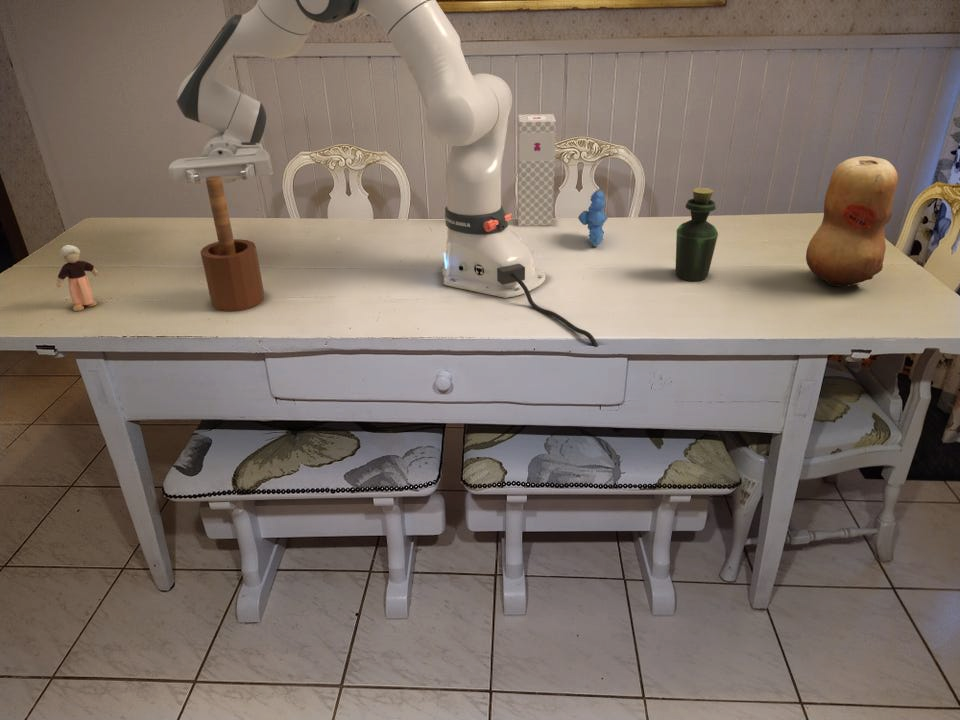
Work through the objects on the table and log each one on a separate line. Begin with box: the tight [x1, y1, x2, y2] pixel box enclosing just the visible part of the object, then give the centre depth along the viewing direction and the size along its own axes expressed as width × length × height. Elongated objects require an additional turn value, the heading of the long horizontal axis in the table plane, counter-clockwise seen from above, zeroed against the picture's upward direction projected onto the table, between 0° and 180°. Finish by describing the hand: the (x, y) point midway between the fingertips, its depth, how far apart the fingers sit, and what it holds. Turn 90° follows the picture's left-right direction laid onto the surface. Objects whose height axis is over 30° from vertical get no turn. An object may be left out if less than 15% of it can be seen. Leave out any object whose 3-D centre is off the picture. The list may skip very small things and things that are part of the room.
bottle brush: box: [205, 176, 236, 255], centre depth 139 cm, size 5×5×24 cm
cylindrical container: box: [200, 238, 265, 312], centre depth 142 cm, size 10×10×11 cm
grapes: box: [577, 189, 608, 247], centre depth 167 cm, size 12×7×12 cm, turn 173°
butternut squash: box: [805, 155, 899, 288], centre depth 141 cm, size 14×13×25 cm
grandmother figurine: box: [56, 244, 99, 312], centre depth 141 cm, size 8×4×13 cm, turn 148°
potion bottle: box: [675, 187, 719, 282], centre depth 147 cm, size 8×8×18 cm
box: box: [516, 113, 557, 227], centre depth 178 cm, size 8×8×25 cm
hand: (220, 177), depth 145 cm, fingers open, 8 cm apart
